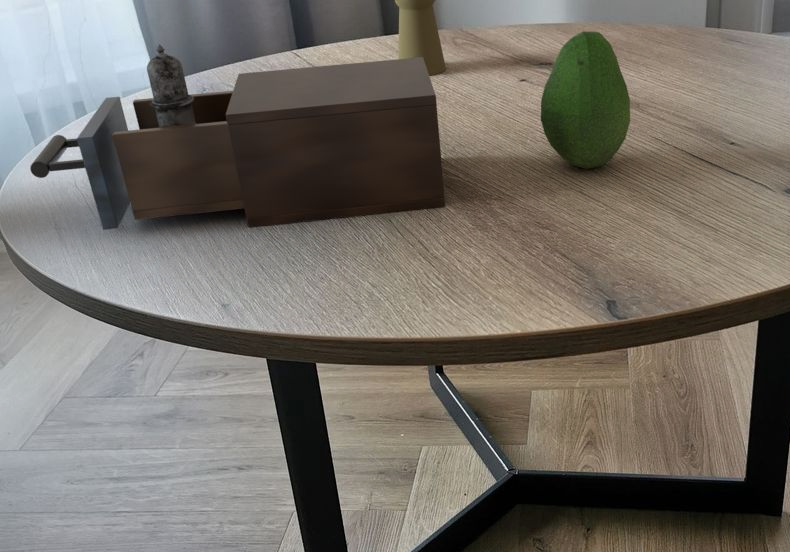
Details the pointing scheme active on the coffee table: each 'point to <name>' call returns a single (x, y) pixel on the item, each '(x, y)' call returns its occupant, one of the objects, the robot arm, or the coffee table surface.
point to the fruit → (586, 102)
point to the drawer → (153, 161)
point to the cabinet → (336, 141)
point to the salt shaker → (169, 91)
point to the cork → (420, 34)
